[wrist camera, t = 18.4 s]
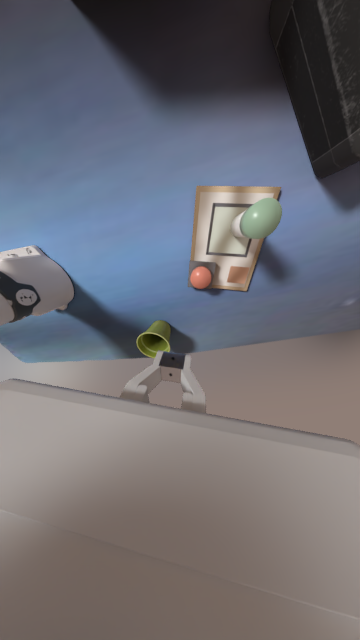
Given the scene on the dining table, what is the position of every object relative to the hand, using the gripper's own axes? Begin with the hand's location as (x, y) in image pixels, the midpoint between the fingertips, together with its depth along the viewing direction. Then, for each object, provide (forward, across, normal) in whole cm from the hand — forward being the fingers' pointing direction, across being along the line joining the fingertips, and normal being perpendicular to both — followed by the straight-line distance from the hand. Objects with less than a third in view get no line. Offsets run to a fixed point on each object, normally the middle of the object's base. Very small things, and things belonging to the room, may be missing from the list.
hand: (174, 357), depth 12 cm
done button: (+22, -2, -2) cm, 23 cm away
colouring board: (+25, -6, -8) cm, 27 cm away
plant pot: (+26, +9, +16) cm, 32 cm away
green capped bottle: (+24, -8, -11) cm, 28 cm away
